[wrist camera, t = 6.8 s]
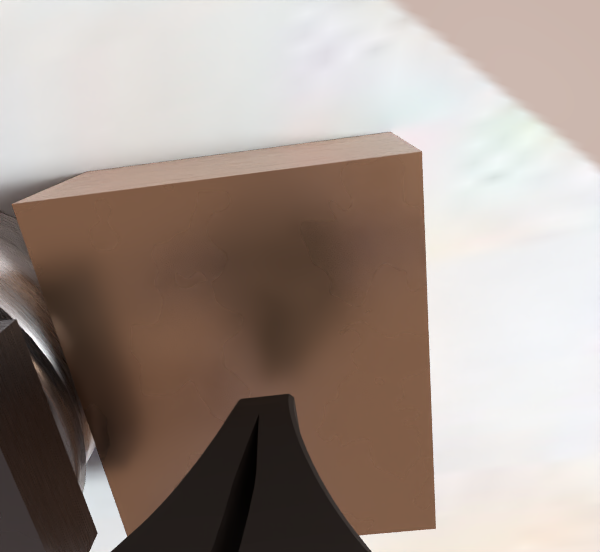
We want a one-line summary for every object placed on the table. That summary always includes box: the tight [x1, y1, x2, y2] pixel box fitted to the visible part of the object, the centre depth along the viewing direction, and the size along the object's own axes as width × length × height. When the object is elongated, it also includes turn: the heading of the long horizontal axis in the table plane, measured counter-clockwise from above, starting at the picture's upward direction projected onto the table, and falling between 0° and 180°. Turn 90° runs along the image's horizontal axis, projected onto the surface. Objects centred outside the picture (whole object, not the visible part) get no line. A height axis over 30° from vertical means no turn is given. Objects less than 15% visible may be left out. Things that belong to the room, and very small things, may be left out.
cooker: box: [0, 132, 436, 537], centre depth 17 cm, size 17×22×4 cm
